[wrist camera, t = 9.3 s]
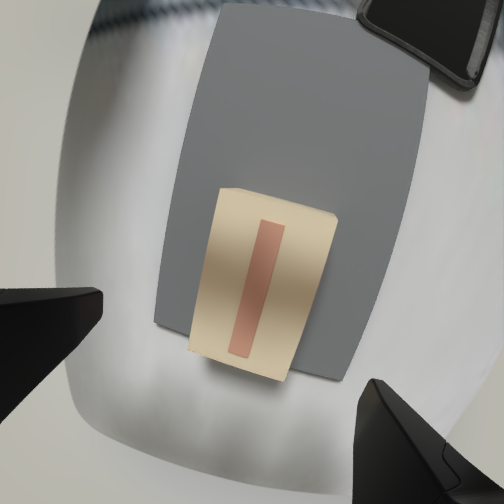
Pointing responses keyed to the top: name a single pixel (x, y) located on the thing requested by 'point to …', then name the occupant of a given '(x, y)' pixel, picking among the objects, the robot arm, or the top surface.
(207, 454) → the top surface
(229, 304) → the beige wooden block
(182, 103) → the top surface
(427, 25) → the phone
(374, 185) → the mat
